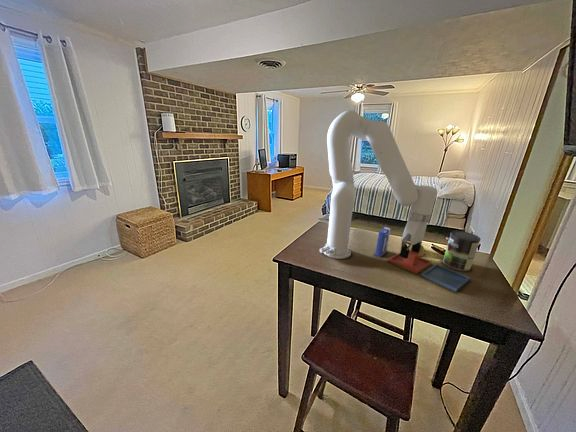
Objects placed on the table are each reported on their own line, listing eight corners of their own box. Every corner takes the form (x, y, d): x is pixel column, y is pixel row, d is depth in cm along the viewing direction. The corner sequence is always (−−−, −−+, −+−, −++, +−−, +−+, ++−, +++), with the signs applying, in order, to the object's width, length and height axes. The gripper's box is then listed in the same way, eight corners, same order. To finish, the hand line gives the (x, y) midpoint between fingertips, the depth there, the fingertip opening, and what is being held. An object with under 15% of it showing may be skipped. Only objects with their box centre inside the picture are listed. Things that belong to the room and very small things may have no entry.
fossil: (406, 234, 119) (429, 239, 114) (404, 243, 122) (426, 249, 117) (401, 247, 111) (426, 253, 106) (399, 257, 114) (423, 263, 109)
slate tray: (455, 293, 85) (457, 289, 85) (420, 276, 94) (421, 273, 94) (469, 280, 93) (470, 277, 92) (435, 267, 102) (436, 263, 101)
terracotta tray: (416, 274, 96) (416, 271, 95) (387, 261, 105) (388, 258, 104) (430, 265, 103) (431, 261, 103) (403, 253, 112) (404, 250, 112)
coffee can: (450, 271, 99) (460, 239, 95) (437, 258, 109) (445, 229, 105) (476, 272, 99) (487, 241, 94) (461, 260, 109) (469, 231, 104)
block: (412, 266, 101) (414, 256, 99) (402, 261, 104) (404, 252, 103) (417, 263, 103) (420, 253, 102) (407, 258, 107) (409, 249, 105)
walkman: (381, 257, 108) (385, 232, 105) (374, 255, 110) (379, 230, 106) (386, 251, 114) (391, 227, 110) (380, 249, 116) (385, 226, 112)
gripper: (419, 211, 105) (410, 246, 111) (399, 217, 95) (390, 255, 100) (438, 216, 99) (427, 253, 105) (418, 223, 89) (407, 263, 95)
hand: (409, 254), depth 103 cm, fingers open, 9 cm apart
